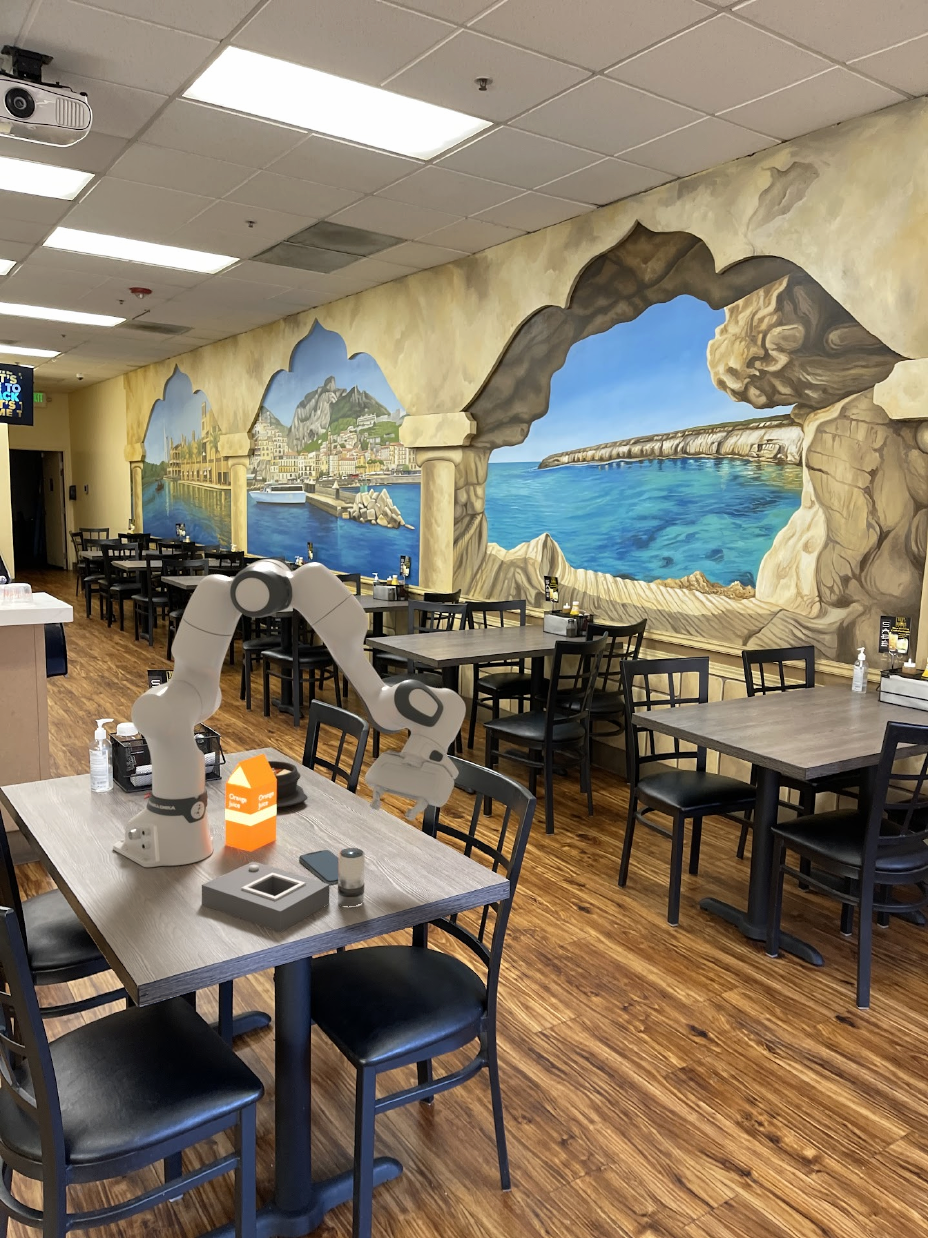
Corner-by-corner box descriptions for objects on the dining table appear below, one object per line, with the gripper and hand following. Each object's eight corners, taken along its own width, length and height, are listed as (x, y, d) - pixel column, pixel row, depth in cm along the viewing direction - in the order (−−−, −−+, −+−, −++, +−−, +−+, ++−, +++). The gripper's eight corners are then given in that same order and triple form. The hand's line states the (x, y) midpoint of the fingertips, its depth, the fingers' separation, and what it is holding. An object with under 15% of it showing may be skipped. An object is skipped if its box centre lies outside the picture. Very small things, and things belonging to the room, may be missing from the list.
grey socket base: (201, 904, 166) (201, 882, 166) (253, 879, 179) (253, 858, 178) (280, 932, 157) (280, 908, 156) (329, 904, 169) (329, 881, 168)
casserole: (212, 794, 232) (212, 764, 231) (272, 781, 245) (272, 752, 244) (262, 819, 214) (262, 786, 213) (324, 804, 227) (324, 773, 226)
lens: (332, 904, 169) (332, 853, 168) (348, 894, 173) (349, 845, 172) (353, 910, 166) (354, 859, 165) (369, 901, 171) (370, 851, 170)
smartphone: (328, 882, 177) (297, 855, 189) (327, 889, 177) (297, 862, 189) (360, 874, 181) (328, 848, 193) (360, 881, 182) (328, 855, 194)
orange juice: (224, 844, 197) (224, 759, 194) (251, 833, 205) (251, 751, 202) (251, 852, 193) (251, 765, 191) (276, 839, 201) (277, 756, 199)
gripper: (377, 740, 188) (346, 795, 182) (453, 758, 177) (423, 816, 170) (390, 756, 193) (360, 810, 186) (465, 774, 181) (436, 832, 174)
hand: (391, 813), depth 178 cm, fingers open, 8 cm apart
